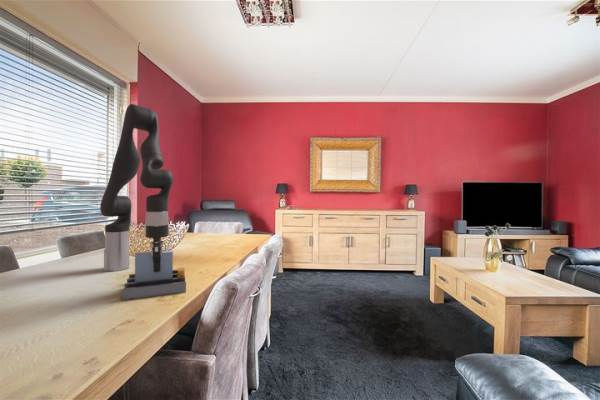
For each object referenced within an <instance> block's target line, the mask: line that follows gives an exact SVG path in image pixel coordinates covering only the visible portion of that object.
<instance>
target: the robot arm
mask: <svg viewBox="0 0 600 400" xmlns="http://www.w3.org/2000/svg"><path fill="white" fill-rule="evenodd" d="M123 117H124V118H123V123H122V129H121V135H120V139H119V143H118V146H117V150H116V153H115V156H114V159H113V162H112V163H113V164H112V167H111V172H110V176H109V179H108V183H107V185H106V188H105V190H104V193H103V195H102V199H101V201H100V206H99V208H100V214H101V215H102V216H104V217H107V218H108V217H110V218H111V217H117V219H115V221H113V222H111V223H108V224H106V225H105V227H104V241H105V242H104V249H103V272H117V271H124V270H127V269H130V226H131V223H132V221H131V219H132V201H131V199H130V197H129V196H127V195H119V193H120V191H121V190H122V189H123V188H124V187H125V186H126V185H127V184H129V183H130V182H131V181H132V180H133V179H134V178H135V177H136V175H137V173H138V172H139V171H138V170H139V168H140V167H139V166H140V165H141V163H142V170H141V173H140V177H139V178H140V179H139V181H140V183H141V185H142V187H144V188H145V189H160V190H159V192H158V193H156V194H152V195H148V196H147V197H146V199H145V202H146V203H145V206H146V207H145V210H146V212H145V227H144V229H145V234H144V235H145V238H147V239H153V240H152V241H151V242H150V247H151V248H150V249H151V252H152V255H153V259H152V261H153V262H154V272H160V261H161V255H162V251H163V247H164V241H163V240H162V238H166V237H169V232H170V231H169V219H170V218H169V213H168V212H169V210H168V209H169V197H170V193H171V189H172V186H173V183H174V176H173V173H172V172H171V171H170V170H168V169H162V168H163V166H164V165H165V163H164V159H163V155H162V151H161V147H160V132H159V131H160V127H159V117H158V114H157V112H156V111H154V110H153V109H150V108H147V107H143V106H141V105H137V104H134V103H130V104H129V105H128V106H127V108H126V110H125V112H124V116H123ZM134 129H136V130H140V131H142V132H143V131H144V132H147V133H148V136H146V138H145V139H144V140H143V142H142V143H141V145H140V150H139V151H140V153H139V151H138V149H137V146H136V144H135V141H134V136H133V135H134ZM141 161H142V162H141ZM155 256H159V258H155Z"/></svg>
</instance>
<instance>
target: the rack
mask: <svg viewBox="0 0 600 400" xmlns="http://www.w3.org/2000/svg"><path fill="white" fill-rule="evenodd" d="M185 271H186V270H185V267H177V269H173V278H170V279H161V280H151V281H142V282H135V273H129V275H128V278H127V279H126V283H125V284H124V288H122V290H121V292H122V293H121V296H122V297H121V298H122V299H121V301H122V302H123V301H128V300H137V299H145V298H153V297H159V296H166V295H175V294H176V295H177V294H182V293H186V292H187V281H186V276H185V274H186V273H185Z"/></svg>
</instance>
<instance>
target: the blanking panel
mask: <svg viewBox="0 0 600 400" xmlns="http://www.w3.org/2000/svg"><path fill="white" fill-rule="evenodd" d="M173 254H174V250H165V251H164V250H162V255H161V261H160V272H154V262H153V261H152V259H153V255H152V251H148V252H147V251H146V252H135V254H134V274H135V282H142V281H151V280H161V279H170V278H173V270H174V269H173V268H174V267H173V265H174V264H173V263H174V261H173V260H174V259H173V258H174V257H173V256H174V255H173ZM155 258H159V256H155Z"/></svg>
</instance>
